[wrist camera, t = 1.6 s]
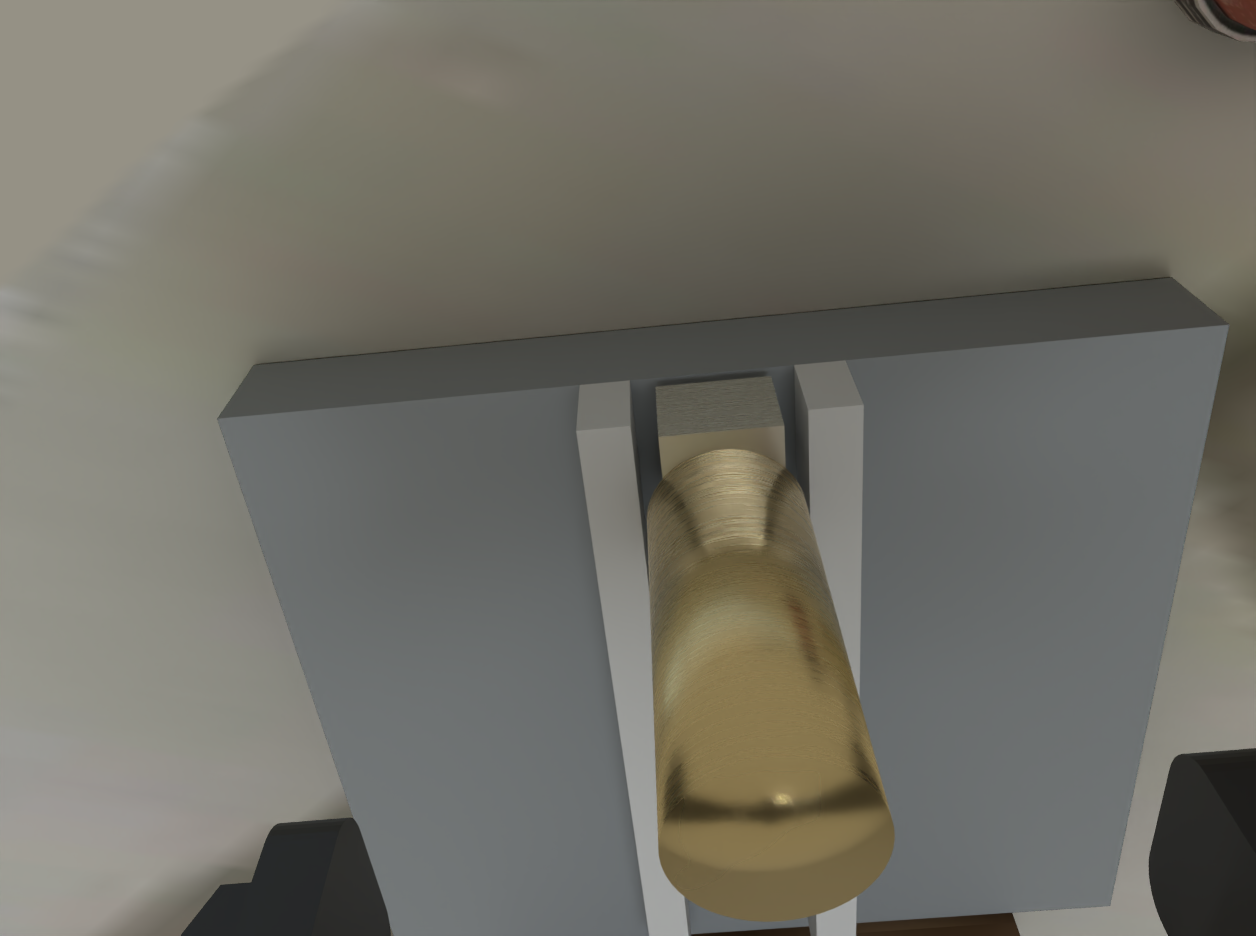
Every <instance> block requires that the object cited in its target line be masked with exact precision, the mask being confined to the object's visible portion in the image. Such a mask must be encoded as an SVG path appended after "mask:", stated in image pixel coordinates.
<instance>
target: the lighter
mask: <svg viewBox="0 0 1256 936" xmlns="http://www.w3.org/2000/svg"><path fill="white" fill-rule="evenodd" d="M1174 1H1175V2H1176V4H1177V5H1178V6H1179V7H1180V9H1181V10H1182V11H1183V12H1184V14H1185V15H1186V16H1187V17H1188V19H1189V20H1190V21H1192V22H1194V23H1196V24H1198V25H1200V26H1202V27H1204V28H1206V29H1208V30H1210V31H1212V32H1215V33H1218V34H1221V35H1224V36H1227V37H1230V38H1233V39H1235V40H1238V41H1248V42H1256V0H1174Z"/></svg>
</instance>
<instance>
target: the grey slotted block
mask: <svg viewBox="0 0 1256 936" xmlns="http://www.w3.org/2000/svg"><path fill="white" fill-rule="evenodd" d="M1228 329H1229V324H1228V323H1227V322H1226V321H1224V320H1223V319H1222V318H1221V317H1220V316H1218V315H1217V314H1216V313H1215V312H1213V311H1212V310H1211V309H1210V308H1209V307H1207V306H1206V305H1205V304H1204V303H1202V302H1201V301H1200V300H1199V299H1198V298H1196V297H1195V296H1194V295H1193V294H1192V293H1190V292H1189V291H1188V290H1187V289H1185V288H1184V287H1183V286H1182V285H1181V284H1179V283H1178V282H1177V281H1176V280H1175V279H1173V278H1162V279H1152V280H1141V281H1131V282H1120V283H1110V284H1099V285H1089V286H1078V287H1068V288H1057V289H1047V290H1036V291H1026V292H1015V293H1005V294H994V295H984V296H973V297H963V298H952V299H942V300H931V301H921V302H910V303H900V304H890V305H879V306H869V307H858V308H848V309H837V310H827V311H816V312H806V313H795V314H785V315H774V316H764V317H753V318H743V319H732V320H722V321H711V322H701V323H690V324H680V325H669V326H659V327H648V328H638V329H627V330H617V331H606V332H596V333H585V334H575V335H565V336H554V337H544V338H533V339H523V340H512V341H502V342H491V343H481V344H470V345H460V346H449V347H439V348H428V349H418V350H407V351H397V352H386V353H376V354H365V355H355V356H344V357H334V358H323V359H313V360H302V361H292V362H281V363H271V364H260V365H254V366H253V367H252V369H251V370H250V371H249V373H248V374H247V376H246V377H245V379H244V380H243V382H242V383H241V385H240V386H239V388H238V389H237V391H236V392H235V393H234V395H233V396H232V398H231V399H230V401H229V402H228V404H227V405H226V407H225V408H224V410H223V411H222V412H221V414H220V415H219V417H218V418H217V420H218V423H219V426H220V429H221V431H222V434H223V437H224V440H225V443H226V446H227V449H228V452H229V455H230V458H231V461H232V464H233V467H234V470H235V472H236V475H237V478H238V481H239V484H240V487H241V490H242V493H243V496H244V499H245V502H246V505H247V508H248V511H249V513H250V516H251V519H252V522H253V525H254V528H255V531H256V534H257V537H258V540H259V543H260V546H261V549H262V552H263V554H264V557H265V560H266V563H267V566H268V569H269V572H270V575H271V578H272V581H273V584H274V587H275V590H276V593H277V596H278V598H279V601H280V604H281V607H282V610H283V613H284V616H285V619H286V622H287V625H288V628H289V631H290V634H291V637H292V639H293V642H294V645H295V648H296V651H297V654H298V657H299V660H300V663H301V666H302V669H303V672H304V675H305V678H306V680H307V683H308V686H309V689H310V692H311V695H312V698H313V701H314V704H315V707H316V710H317V713H318V716H319V719H320V721H321V724H322V727H323V730H324V733H325V736H326V739H327V742H328V745H329V748H330V751H331V754H332V757H333V760H334V762H335V765H336V768H337V771H338V774H339V777H340V780H341V783H342V786H343V789H344V792H345V795H346V798H347V801H348V804H349V806H350V809H351V812H352V815H353V818H354V820H355V821H356V822H357V824H358V826H359V829H360V831H361V834H362V837H363V840H364V843H365V846H366V849H367V852H368V855H369V858H370V861H371V864H372V867H373V870H374V873H375V876H376V879H377V882H378V885H379V888H380V891H381V894H382V897H383V900H384V903H385V906H386V909H387V912H388V917H389V923H390V927H391V929H392V932H393V935H394V936H691V934H702V933H717V932H732V931H747V930H762V929H776V928H791V927H806V926H809V928H810V934H811V936H856V923H865V922H880V921H895V920H910V919H924V918H939V917H954V916H969V915H983V914H998V913H1013V912H1028V911H1043V910H1057V909H1072V908H1087V907H1102V906H1110V904H1111V899H1112V894H1113V889H1114V884H1115V880H1116V875H1117V870H1118V865H1119V860H1120V855H1121V850H1122V845H1123V841H1124V836H1125V831H1126V826H1127V821H1128V816H1129V811H1130V806H1131V802H1132V797H1133V792H1134V787H1135V782H1136V777H1137V772H1138V767H1139V763H1140V758H1141V753H1142V748H1143V743H1144V738H1145V733H1146V728H1147V724H1148V719H1149V714H1150V709H1151V704H1152V699H1153V694H1154V689H1155V685H1156V680H1157V675H1158V670H1159V665H1160V660H1161V655H1162V650H1163V646H1164V641H1165V636H1166V631H1167V626H1168V621H1169V616H1170V612H1171V607H1172V602H1173V597H1174V592H1175V587H1176V582H1177V577H1178V573H1179V568H1180V563H1181V558H1182V553H1183V548H1184V543H1185V538H1186V534H1187V529H1188V524H1189V519H1190V514H1191V509H1192V504H1193V499H1194V495H1195V490H1196V485H1197V480H1198V475H1199V470H1200V465H1201V460H1202V456H1203V451H1204V446H1205V441H1206V436H1207V431H1208V426H1209V421H1210V417H1211V412H1212V407H1213V402H1214V397H1215V392H1216V387H1217V382H1218V378H1219V373H1220V368H1221V363H1222V358H1223V353H1224V348H1225V343H1226V339H1227V334H1228ZM765 376H771V378H772V382H773V385H774V389H775V393H776V396H777V400H778V404H779V408H780V411H781V415H782V419H783V422H784V430H785V465H786V469H787V470H788V471H789V472H790V473H791V474H792V475H793V476H794V477H795V478H796V480H797V482H798V483H799V485H800V486H801V489H802V491H803V493H804V496H805V500H806V504H807V507H808V511H809V515H810V518H811V522H812V526H813V529H814V533H815V537H816V540H817V544H818V548H819V552H820V555H821V559H822V563H823V566H824V570H825V574H826V577H827V581H828V585H829V588H830V592H831V596H832V599H833V603H834V607H835V611H836V614H837V618H838V622H839V625H840V629H841V633H842V636H843V640H844V644H845V647H846V651H847V655H848V658H849V662H850V666H851V670H852V673H853V677H854V681H855V684H856V688H857V692H858V695H859V699H860V703H861V706H862V710H863V714H864V718H865V721H866V725H867V729H868V732H869V736H870V740H871V743H872V747H873V751H874V754H875V758H876V762H877V765H878V769H879V773H880V777H881V780H882V784H883V788H884V791H885V795H886V799H887V802H888V806H889V810H890V813H891V817H892V821H893V825H894V832H895V841H894V848H893V851H892V854H891V857H890V860H889V862H888V864H887V865H886V867H885V869H884V870H883V872H882V873H881V874H880V876H879V877H878V878H877V879H876V880H875V881H874V882H873V883H872V884H871V885H870V886H869V887H868V888H867V889H866V890H864V891H863V892H862V893H861V894H859V895H858V896H856V897H855V898H853V899H852V900H850V901H848V902H846V903H844V904H842V905H840V906H838V907H836V908H834V909H831V910H829V911H826V912H824V913H821V914H817V915H814V916H810V917H806V918H801V919H795V920H787V921H774V922H760V921H747V920H740V919H735V918H730V917H726V916H722V915H719V914H716V913H714V912H711V911H708V910H706V909H704V908H702V907H700V906H698V905H696V904H695V903H693V902H691V901H690V900H688V899H687V898H686V897H684V896H683V895H682V894H681V893H679V892H678V891H677V890H676V888H675V887H674V886H673V885H672V884H671V883H670V881H669V880H668V878H667V877H666V875H665V873H664V871H663V869H662V867H661V863H660V859H659V853H658V824H657V796H656V767H655V739H654V710H653V681H652V653H651V624H650V595H649V567H648V538H647V511H648V506H649V502H650V499H651V497H652V494H653V492H654V490H655V489H656V487H657V486H658V484H659V483H660V481H661V480H662V469H661V459H660V449H659V439H658V423H657V406H656V389H655V387H657V386H667V385H678V384H689V383H700V382H711V381H721V380H732V379H743V378H754V377H765Z"/></svg>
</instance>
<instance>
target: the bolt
mask: <svg viewBox="0 0 1256 936" xmlns="http://www.w3.org/2000/svg"><path fill="white" fill-rule="evenodd" d="M655 389H656V406H657V423H658V439H659V449H660V459H661V469H662V480H661V481H660V483H659V484H658V486H657V487H656V489H655V490H654V492H653V494H652V497H651V499H650V502H649V506H648V511H647V538H648V567H649V595H650V624H651V653H652V681H653V710H654V739H655V767H656V796H657V824H658V853H659V859H660V863H661V867H662V869H663V871H664V873H665V875H666V877H667V878H668V880H669V881H670V883H671V884H672V885H673V886H674V887H675V888H676V890H677V891H678V892H679V893H681V894H682V895H683V896H684V897H686V898H687V899H688V900H690V901H691V902H693V903H695V904H696V905H698V906H700V907H702V908H704V909H706V910H708V911H711V912H714V913H716V914H719V915H722V916H726V917H730V918H735V919H740V920H747V921H760V922H774V921H787V920H795V919H801V918H806V917H810V916H814V915H817V914H821V913H824V912H826V911H829V910H831V909H834V908H836V907H838V906H840V905H842V904H844V903H846V902H848V901H850V900H852V899H853V898H855V897H856V896H858V895H859V894H861V893H862V892H863V891H864V890H866V889H867V888H868V887H869V886H870V885H871V884H872V883H873V882H874V881H875V880H876V879H877V878H878V877H879V876H880V874H881V873H882V872H883V870H884V869H885V867H886V865H887V864H888V862H889V860H890V857H891V854H892V851H893V848H894V841H895V832H894V825H893V821H892V817H891V813H890V810H889V806H888V802H887V799H886V795H885V791H884V788H883V784H882V780H881V777H880V773H879V769H878V765H877V762H876V758H875V754H874V751H873V747H872V743H871V740H870V736H869V732H868V729H867V725H866V721H865V718H864V714H863V710H862V706H861V703H860V699H859V695H858V692H857V688H856V684H855V681H854V677H853V673H852V670H851V666H850V662H849V658H848V655H847V651H846V647H845V644H844V640H843V636H842V633H841V629H840V625H839V622H838V618H837V614H836V611H835V607H834V603H833V599H832V596H831V592H830V588H829V585H828V581H827V577H826V574H825V570H824V566H823V563H822V559H821V555H820V552H819V548H818V544H817V540H816V537H815V533H814V529H813V526H812V522H811V518H810V515H809V511H808V507H807V504H806V500H805V496H804V493H803V491H802V489H801V486H800V485H799V483H798V482H797V480H796V478H795V477H794V476H793V475H792V474H791V473H790V472H789V471H788V470H787V469H786V465H785V430H784V422H783V419H782V415H781V411H780V408H779V404H778V400H777V396H776V393H775V389H774V385H773V382H772V378H771V376H765V377H754V378H743V379H732V380H721V381H711V382H700V383H689V384H678V385H667V386H657V387H655Z"/></svg>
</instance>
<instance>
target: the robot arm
mask: <svg viewBox="0 0 1256 936" xmlns="http://www.w3.org/2000/svg"><path fill="white" fill-rule="evenodd" d="M1149 878H1150V885H1151V891H1152V895H1153V899H1154V903H1155V906H1156V909H1157V912H1158V914H1159V917H1160V920H1161V922H1162V924H1163V926H1164V928H1165V930H1166V932H1167V934H1168V936H1256V748H1253V749H1241V750H1228V751H1216V752H1203V753H1191V754H1181V755H1178V756H1177V757H1175V758H1174V760H1173V762H1172V763H1171V767H1170V770H1169V774H1168V778H1167V783H1166V787H1165V791H1164V795H1163V800H1162V804H1161V808H1160V812H1159V817H1158V821H1157V825H1156V829H1155V834H1154V838H1153V842H1152V846H1151V851H1150V856H1149ZM181 936H391V933H390V923H389V917H388V912H387V909H386V906H385V903H384V900H383V897H382V894H381V891H380V888H379V885H378V882H377V879H376V876H375V873H374V870H373V867H372V864H371V861H370V858H369V855H368V852H367V849H366V846H365V843H364V840H363V837H362V834H361V831H360V829H359V826H358V824H357V822H356V821H355V820H354V819H353V818H340V819H328V820H315V821H303V822H290V823H280V824H277V825H275V826H274V827H273V828H272V829H271V831H270V832H269V834H268V836H267V839H266V841H265V844H264V847H263V850H262V853H261V856H260V859H259V861H258V864H257V867H256V870H255V873H254V876H253V879H252V882H251V883H239V884H226V885H220V887H219V888H218V889H217V890H216V892H215V893H214V894H213V895H212V897H211V898H210V899H209V900H208V902H207V903H206V904H205V905H204V907H203V908H202V909H201V910H200V912H199V913H198V914H197V915H196V917H195V918H194V919H193V920H192V922H191V923H190V924H189V925H188V927H187V928H186V929H185V930H184V932H183V933H182V934H181Z"/></svg>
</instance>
